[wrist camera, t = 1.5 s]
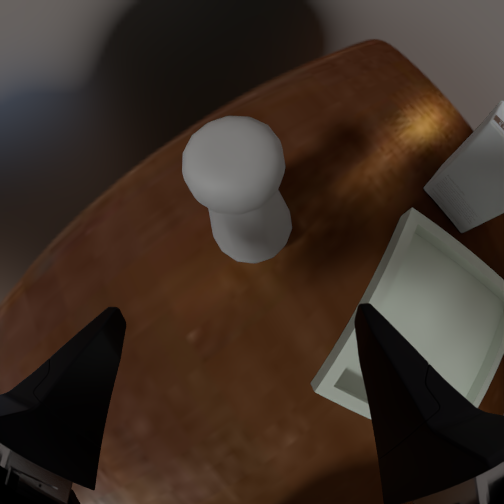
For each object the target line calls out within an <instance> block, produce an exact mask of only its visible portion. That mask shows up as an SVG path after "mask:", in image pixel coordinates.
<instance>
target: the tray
mask: <svg viewBox="0 0 504 504" xmlns="http://www.w3.org/2000/svg"><path fill="white" fill-rule="evenodd" d="M362 303H370V304H371V305H372V306H373V307H374V308H376V309H377V310H378V311H379V312H380V313H381V314H382V315H383V316H384V317H385V318H386V319H387V320H388V321H389V322H390V323H391V324H392V325H393V326H394V327H395V328H396V329H397V330H398V331H399V332H400V334H401V335H402V336H403V337H404V338H405V339H406V340H407V341H408V342H409V343H410V344H411V345H412V346H413V347H414V348H415V349H416V350H417V351H418V352H419V353H420V354H421V355H422V356H423V357H424V358H425V359H426V360H427V362H428V363H429V364H430V365H431V366H432V367H433V368H434V369H435V370H436V371H437V372H438V373H439V374H440V375H441V376H442V377H443V378H444V379H445V380H446V381H447V382H448V383H449V384H450V385H451V386H453V387H454V388H455V389H456V390H457V391H458V392H459V393H460V394H462V395H463V396H464V397H465V398H466V399H467V400H468V401H470V402H471V403H472V404H473V405H474V406H475V407H477V408H478V406H479V405H480V403H481V401H482V399H483V397H484V395H485V393H486V391H487V389H488V387H489V385H490V383H491V381H492V379H493V377H494V375H495V372H496V370H497V368H498V366H499V363H500V361H501V359H502V356H503V354H504V280H503V279H502V278H501V277H500V276H499V275H498V274H497V273H495V272H494V271H493V270H492V269H491V268H490V267H489V266H488V265H486V264H485V263H484V262H483V261H482V260H481V259H479V258H478V257H477V256H476V255H475V254H474V253H472V252H471V251H470V250H469V249H467V248H466V247H465V246H464V245H462V244H461V243H460V242H459V241H457V240H456V239H455V238H454V237H452V236H451V235H450V234H448V233H447V232H446V231H444V230H443V229H442V228H440V227H439V226H438V225H436V224H435V223H434V222H432V221H431V220H430V219H428V218H427V217H425V216H424V215H423V214H421V213H420V212H418V211H417V210H415V209H414V208H411V209H409V210H408V211H407V212H405V213H404V214H403V215H402V216H401V217H400V219H399V222H398V224H397V226H396V229H395V231H394V233H393V235H392V238H391V240H390V242H389V244H388V247H387V249H386V251H385V253H384V255H383V257H382V259H381V261H380V264H379V266H378V268H377V270H376V272H375V274H374V276H373V278H372V280H371V282H370V284H369V286H368V287H367V289H366V291H365V293H364V295H363V297H362V299H361V301H360V303H359V304H362ZM359 304H358V305H359ZM357 308H358V306H357ZM357 308H356V310H355V312H354V314H353V315H352V317H351V319H350V321H349V322H348V324H347V326H346V328H345V329H344V331H343V333H342V334H341V336H340V338H339V339H338V341H337V343H336V344H335V346H334V348H333V349H332V351H331V353H330V354H329V356H328V357H327V359H326V360H325V362H324V364H323V365H322V367H321V368H320V370H319V371H318V373H317V374H316V376H315V377H314V379H313V380H312V382H311V385H312V387H313V390H314V392H316V393H318V394H320V395H322V396H324V397H326V398H327V399H329V400H331V401H333V402H335V403H338V404H340V405H342V406H344V407H346V408H348V409H350V410H352V411H354V412H356V413H358V414H360V415H363V416H365V417H367V418H369V419H371V414H370V409H369V404H368V399H367V395H366V390H365V385H364V381H363V376H362V372H361V368H360V363H359V357H358V348H357V340H356V333H355V325H354V320H355V316H356V312H357Z"/></svg>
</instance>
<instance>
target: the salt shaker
mask: <svg viewBox="0 0 504 504" xmlns="http://www.w3.org/2000/svg"><path fill="white" fill-rule="evenodd" d="M284 172H285V161H284V156H283V150H282V146H281V143H280V140H279V139H278V137H277V136H276V135H275V134H274V132H273V131H272V130H271V129H270V127H269V126H268V125H266V124H264V123H262V122H260V121H258V120H255V119H253V118H251V117H243V116H226V117H223V118H220V119H217V120H214V121H211V122H209V123H207V124H206V125H205V126H203V127H202V128H201V129H200V130H198V131H197V132H196V133H195V134H193V135H192V136H191V138H190V140H189V142H188V144H187V146H186V148H185V150H184V152H183V167H182V173H183V177H184V180H185V182H186V184H187V185H188V187H189V189H190V190H191V192H192V194H193V195H194V197H195V198H196V199H197V201H198V202H200V203H201V204H203V205H204V206H206V207H208V209H209V214H210V220H211V226H212V231H213V237H214V238H215V240H216V242H217V243H218V245H219V247H220V249H221V250H222V252H224V253H225V254H227V255H228V256H230V257H231V258H233V259H234V260H236V261H239V262H248V263H258V262H261V261H264V260H267V259H271V258H273V257H274V256H275V255H276V254H277V253H278V252H279V251H280V250H281V249H282V248H283V247H284V246H285V245H286V243H287V241H288V238H289V235H290V233H291V230H292V223H291V217H290V211H289V209H288V207H287V205H286V203H285V201H284V199H283V198H282V196H281V194H280V192H279V190H278V188H279V186H280V183H281V180H282V178H283V175H284Z"/></svg>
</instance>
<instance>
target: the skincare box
mask: <svg viewBox="0 0 504 504" xmlns="http://www.w3.org/2000/svg"><path fill="white" fill-rule="evenodd" d="M424 190H425V191H426V192H427V193H428V195H429V196H430V197H431V198H432V199H433V200H434V201H435V202H436V203H437V205H438V206H439V207H440V208H441V209H442V210H443V212H444V213H445V214H446V215H447V216H448V218H449V219H450V220H451V221H452V222H453V224H454V225H455V226H456V227H457V229H458V230H459V231H460V232H461V233H464V232H466V231H468V230H470V229H472V228H474V227H476V226H478V225H480V224H482V223H484V222H486V221H488V220H490V219H492V218H494V217H496V216H499V215H500V214H502V213H504V101H503V100H502V101H500V102H499V103H498V105H497V106H496V107H495V108H494V109H493V111H491V113H490V114H489V115H488V116H487V117H486V118H485V120H484V121H483V122H482V123H481V124H480V125H479V127H477V129H476V130H475V131H474V132H473V133H472V134H471V135H470V136H469V137H468V138H467V139H466V140H465V141H464V142H463V144H462V145H461V146H460V147H459V148H458V149H457V150H456V151H455V152H454V153H453V154H452V155H451V156H450V157H449V158H448V159H447V160H446V161H445V162H444V163H443V164H442V165H441V167H440V168H439V169H438V171H437V172H436V173H435V174H434V176H433V177H432V178H431V179H430V180H429V182H428V183H427V184H426V185H425V186H424Z"/></svg>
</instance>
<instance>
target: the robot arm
mask: <svg viewBox="0 0 504 504" xmlns="http://www.w3.org/2000/svg"><path fill="white" fill-rule="evenodd" d="M354 325H355V333H356V340H357V348H358V357H359V363H360V368H361V372H362V376H363V381H364V385H365V390H366V395H367V399H368V404H369V409H370V414H371V420H372V425H373V430H374V436H375V442H376V448H377V454H378V460H379V468H380V475H381V483H382V491H383V500H384V504H402V503H406V502H409V501H413V504H504V416H502V415H497V414H491V413H487V412H484V411H482V410H480V409H478V408H477V407H475V406H474V405H473V404H472V403H471V402H470V401H468V400H467V399H466V398H465V397H464V396H463V395H462V394H460V393H459V392H458V391H457V390H456V389H455V388H454V387H453V386H451V385H450V384H449V383H448V382H447V381H446V380H445V379H444V378H443V377H442V376H441V375H440V374H439V373H438V372H437V371H436V370H435V369H434V368H433V367H432V366H431V365H430V364H429V363H428V362H427V360H426V359H425V358H424V357H423V356H422V355H421V354H420V353H419V352H418V351H417V350H416V349H415V348H414V347H413V346H412V345H411V344H410V343H409V342H408V341H407V340H406V339H405V338H404V337H403V336H402V335H401V334H400V332H399V331H398V330H397V329H396V328H395V327H394V326H393V325H392V324H391V323H390V322H389V321H388V320H387V319H386V318H385V317H384V316H383V315H382V314H381V313H380V312H379V311H378V310H377V309H376V308H374V307H373V306H372V305H371V304H370V303H362V304H359V305H358V308H357V312H356V316H355V320H354ZM125 330H126V321H125V319H124V317H123V315H122V313H121V311H120V309H119V308H118V307H108V308H107V309H106V310H104V311H103V312H102V313H101V314H100V315H98V316H97V317H96V318H95V319H94V320H92V321H91V322H90V323H89V324H88V325H87V326H85V327H84V328H83V329H82V330H81V331H80V332H79V333H77V334H76V335H75V336H74V337H73V338H72V339H70V340H69V341H68V342H67V343H66V344H65V345H64V346H63V347H61V348H60V349H59V350H58V351H57V352H56V353H55V354H54V355H52V356H51V357H50V358H49V359H48V360H47V361H46V362H45V363H44V364H42V365H41V366H40V367H39V368H38V369H37V370H36V371H34V372H33V373H32V374H31V375H29V376H28V377H27V378H26V379H24V380H23V381H22V382H21V383H19V384H18V385H17V386H16V387H14V388H13V389H12V390H10V391H9V392H7V393H4V394H1V395H0V504H80V502H79V500H78V499H77V497H76V495H75V493H74V491H73V490H72V489H71V488H72V484H73V482H74V483H76V484H78V485H81V486H83V487H86V488H89V489H91V490H95V485H96V477H97V470H98V463H99V456H100V450H101V448H100V447H101V444H102V438H103V433H104V428H105V423H106V418H107V413H108V408H109V404H110V400H111V395H112V391H113V387H114V383H115V379H116V375H117V371H118V367H119V363H120V359H121V354H122V347H123V342H124V336H125Z"/></svg>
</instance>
